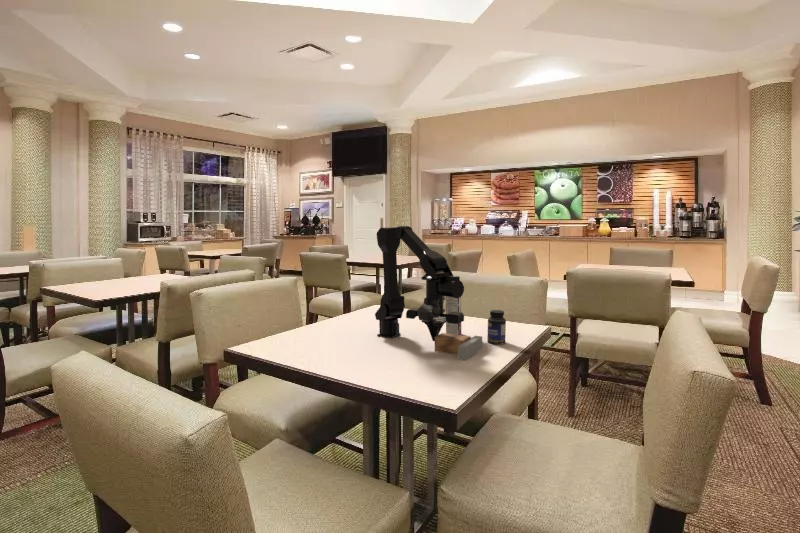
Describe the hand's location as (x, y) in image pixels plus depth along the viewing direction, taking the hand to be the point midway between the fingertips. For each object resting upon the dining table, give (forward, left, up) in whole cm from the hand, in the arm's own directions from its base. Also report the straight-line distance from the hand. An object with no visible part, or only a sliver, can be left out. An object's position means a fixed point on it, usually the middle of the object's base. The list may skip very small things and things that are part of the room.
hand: (434, 340), depth 157 cm
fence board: (+13, 0, -3) cm, 13 cm away
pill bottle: (+16, +17, -3) cm, 23 cm away
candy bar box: (0, +17, -3) cm, 17 cm away
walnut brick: (+7, 0, -3) cm, 7 cm away
